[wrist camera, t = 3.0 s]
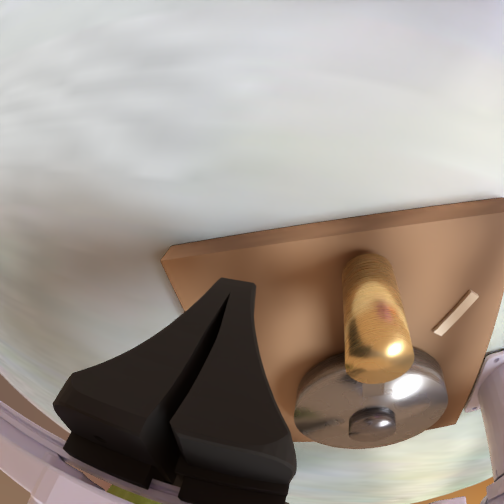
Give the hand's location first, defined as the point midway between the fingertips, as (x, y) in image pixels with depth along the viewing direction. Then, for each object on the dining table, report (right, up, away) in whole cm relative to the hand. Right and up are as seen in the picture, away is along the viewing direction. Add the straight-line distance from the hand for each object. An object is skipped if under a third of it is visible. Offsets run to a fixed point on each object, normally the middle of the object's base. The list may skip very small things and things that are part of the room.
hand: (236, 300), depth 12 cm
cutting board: (+7, -5, +7) cm, 12 cm away
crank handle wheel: (+8, -5, +5) cm, 10 cm away
